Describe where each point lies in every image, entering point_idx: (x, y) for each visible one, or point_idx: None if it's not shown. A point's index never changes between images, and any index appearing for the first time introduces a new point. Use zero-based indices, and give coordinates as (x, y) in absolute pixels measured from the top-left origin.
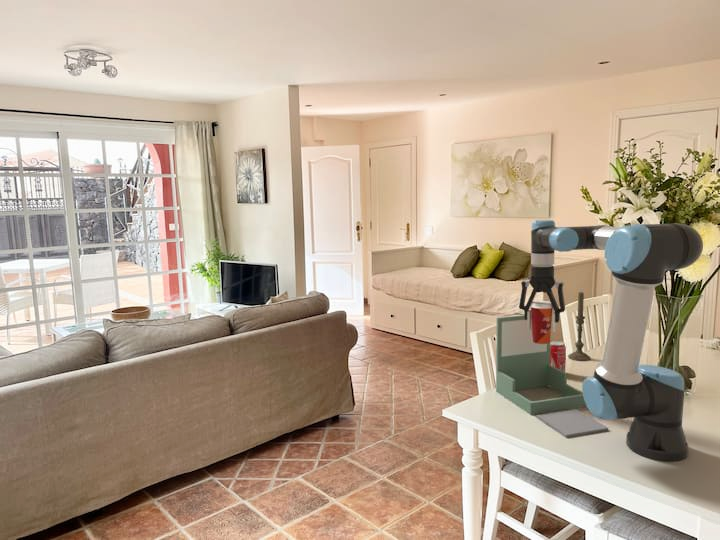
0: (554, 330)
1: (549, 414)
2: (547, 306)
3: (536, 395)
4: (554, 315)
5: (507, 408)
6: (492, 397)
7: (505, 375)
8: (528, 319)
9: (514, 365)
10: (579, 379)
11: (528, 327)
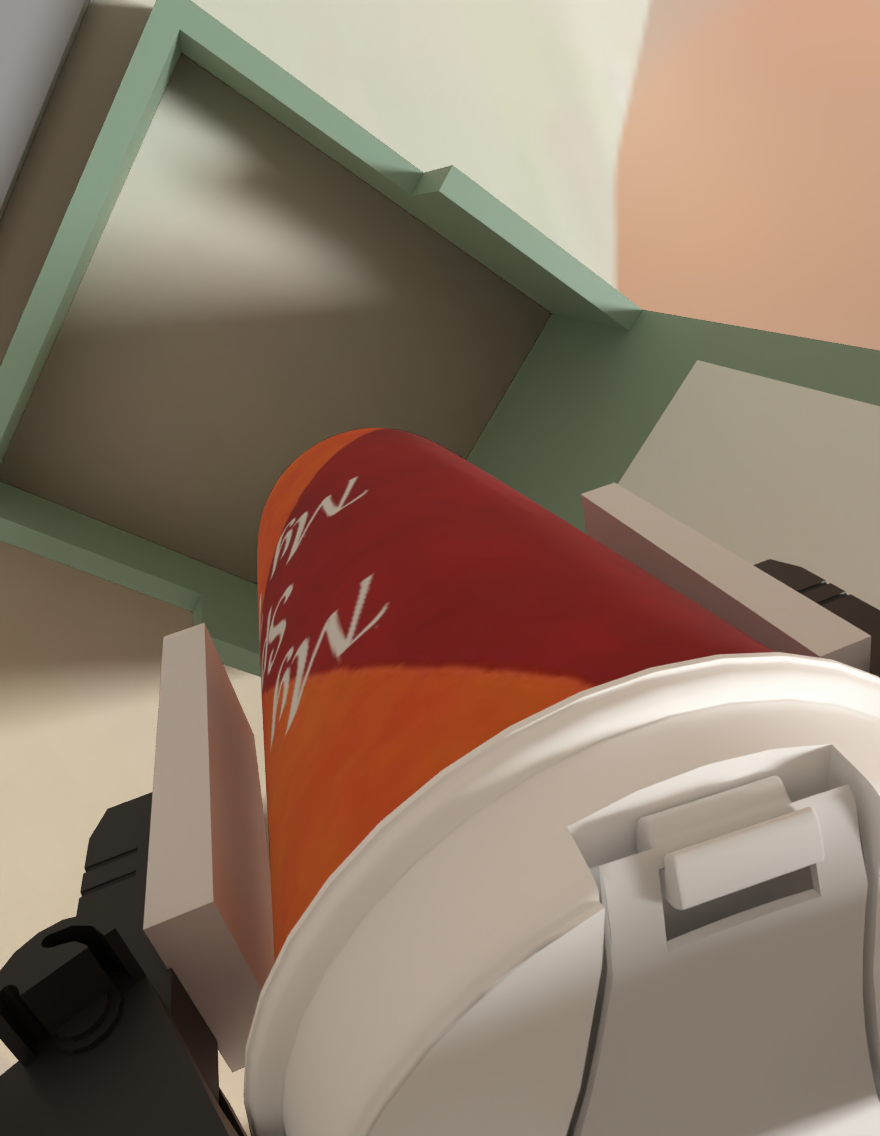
0: (163, 655)
1: (26, 68)
2: (361, 989)
3: (335, 428)
4: (153, 880)
5: (372, 28)
6: (552, 179)
7: (555, 258)
8: (710, 561)
9: (570, 460)
10: (268, 840)
11: (618, 505)
